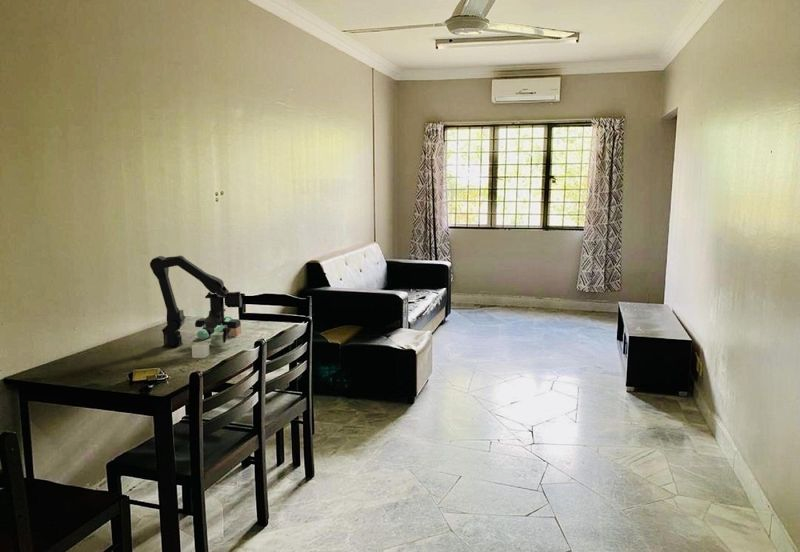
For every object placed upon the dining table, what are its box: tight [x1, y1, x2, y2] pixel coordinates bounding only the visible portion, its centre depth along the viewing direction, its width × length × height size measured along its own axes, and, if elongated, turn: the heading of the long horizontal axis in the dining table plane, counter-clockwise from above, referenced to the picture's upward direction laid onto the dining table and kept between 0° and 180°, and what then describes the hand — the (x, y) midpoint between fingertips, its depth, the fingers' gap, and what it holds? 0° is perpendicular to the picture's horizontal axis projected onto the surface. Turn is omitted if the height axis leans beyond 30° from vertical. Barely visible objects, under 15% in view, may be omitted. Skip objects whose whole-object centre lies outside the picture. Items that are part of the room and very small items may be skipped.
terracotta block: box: [228, 325, 242, 337], centre depth 276 cm, size 5×5×5 cm
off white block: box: [191, 342, 210, 359], centre depth 244 cm, size 5×5×5 cm
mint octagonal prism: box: [196, 316, 234, 341], centre depth 279 cm, size 6×6×25 cm
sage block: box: [210, 331, 228, 347], centre depth 260 cm, size 5×5×5 cm
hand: (218, 342), depth 261 cm, fingers closed on sage block, 5 cm apart
